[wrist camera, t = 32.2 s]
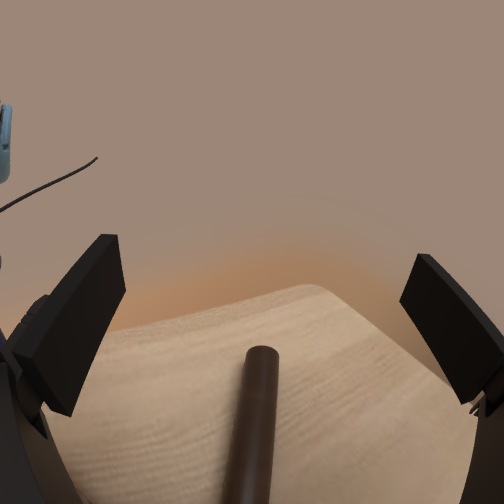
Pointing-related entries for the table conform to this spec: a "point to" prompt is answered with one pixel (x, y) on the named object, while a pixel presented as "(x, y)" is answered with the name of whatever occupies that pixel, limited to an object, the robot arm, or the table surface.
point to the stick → (253, 430)
